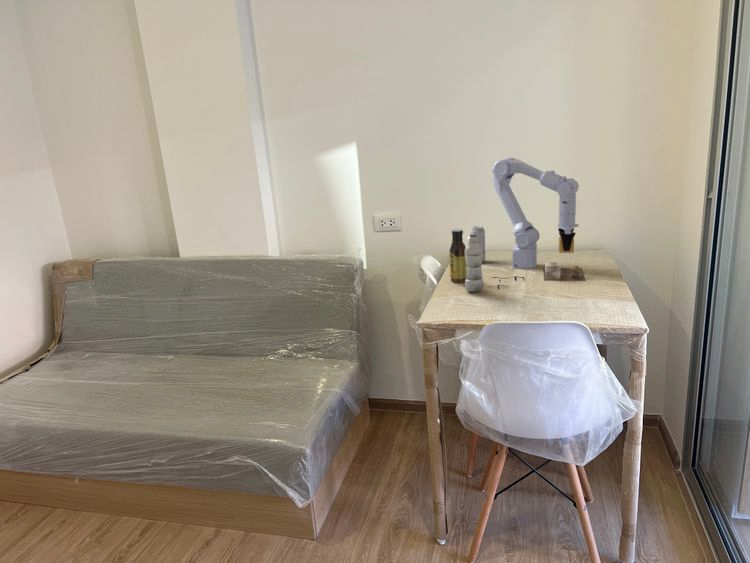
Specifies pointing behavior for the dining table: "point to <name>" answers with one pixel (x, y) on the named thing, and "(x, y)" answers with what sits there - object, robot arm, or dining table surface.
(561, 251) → the kraft paper cube
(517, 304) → the dining table surface
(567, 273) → the board
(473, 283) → the plastic bottle
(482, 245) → the energy drink can
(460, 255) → the sauce bottle
